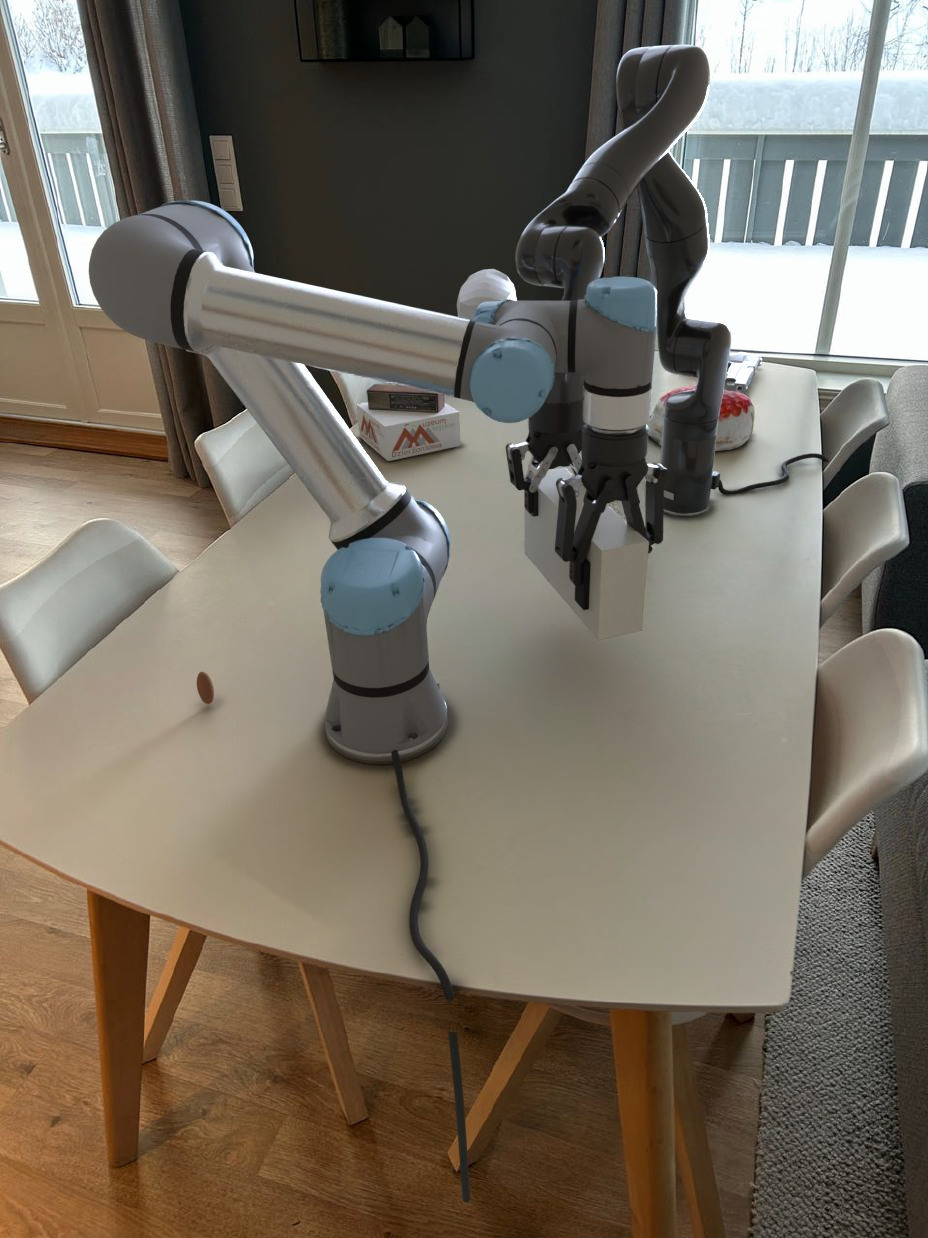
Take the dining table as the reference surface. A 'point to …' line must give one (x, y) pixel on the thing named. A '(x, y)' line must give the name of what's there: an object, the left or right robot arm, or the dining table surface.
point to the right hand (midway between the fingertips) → (555, 509)
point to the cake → (731, 424)
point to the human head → (483, 291)
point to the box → (592, 563)
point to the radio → (407, 421)
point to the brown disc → (205, 687)
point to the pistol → (741, 371)
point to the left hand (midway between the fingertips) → (606, 599)
